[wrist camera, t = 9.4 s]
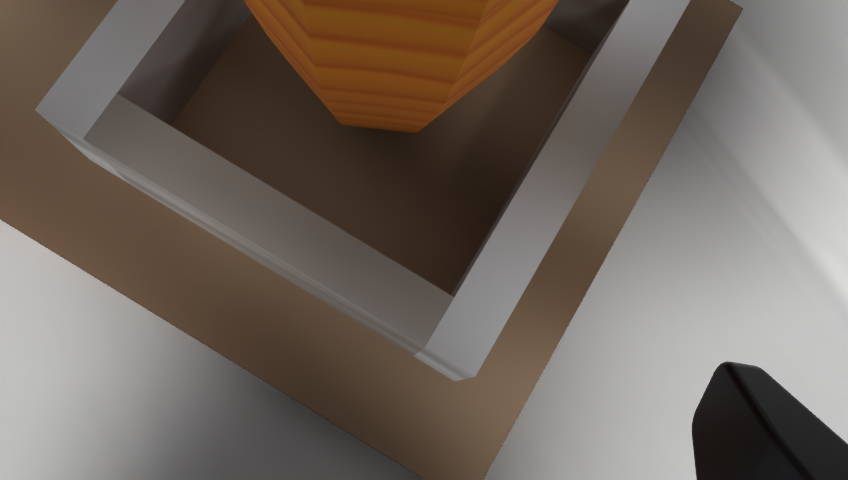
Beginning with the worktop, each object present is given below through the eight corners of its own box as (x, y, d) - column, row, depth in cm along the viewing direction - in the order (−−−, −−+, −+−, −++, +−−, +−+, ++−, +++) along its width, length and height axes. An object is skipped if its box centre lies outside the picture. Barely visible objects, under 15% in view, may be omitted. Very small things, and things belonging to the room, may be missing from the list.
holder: (462, 500, 17) (492, 528, 14) (-161, 118, 18) (-306, 39, 14) (724, 27, 20) (813, -63, 16) (177, -293, 21) (136, -455, 17)
